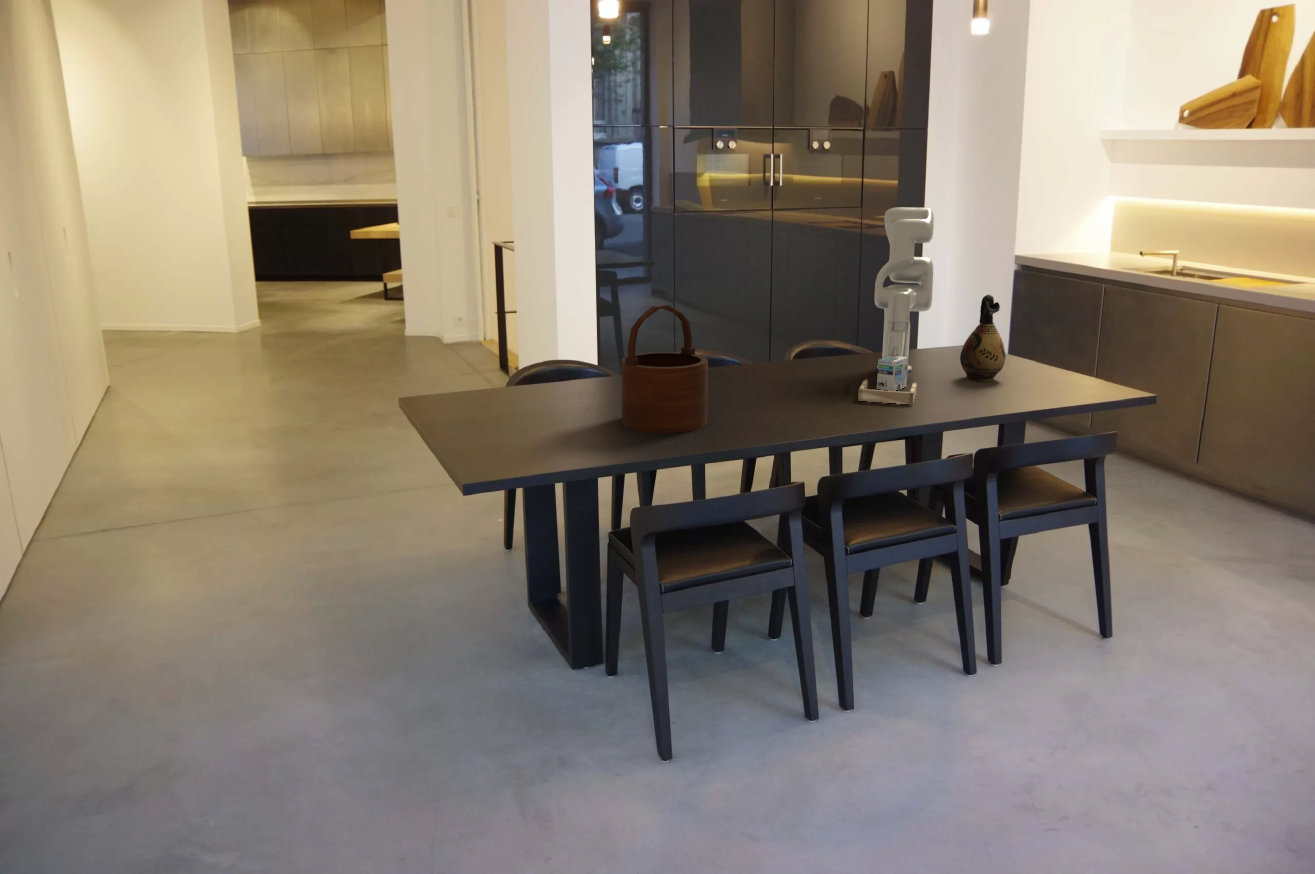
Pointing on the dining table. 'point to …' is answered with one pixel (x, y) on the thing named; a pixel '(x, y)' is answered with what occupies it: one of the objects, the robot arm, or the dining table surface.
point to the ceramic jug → (984, 346)
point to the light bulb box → (892, 373)
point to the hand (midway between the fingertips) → (894, 377)
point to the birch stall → (886, 395)
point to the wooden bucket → (664, 385)
